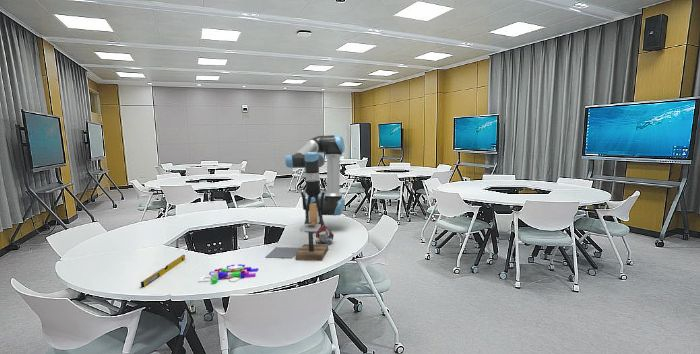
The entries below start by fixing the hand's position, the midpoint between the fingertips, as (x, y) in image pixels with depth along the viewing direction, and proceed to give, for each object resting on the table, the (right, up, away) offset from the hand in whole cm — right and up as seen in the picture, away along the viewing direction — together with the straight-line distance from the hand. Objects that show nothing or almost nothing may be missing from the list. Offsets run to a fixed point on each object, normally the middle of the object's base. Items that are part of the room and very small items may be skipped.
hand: (314, 221), depth 188 cm
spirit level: (-70, -22, -23) cm, 77 cm away
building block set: (-37, -22, -27) cm, 51 cm away
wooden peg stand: (0, -17, -4) cm, 18 cm away
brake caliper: (+5, -15, +16) cm, 22 cm away
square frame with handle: (-1, -2, -5) cm, 6 cm away
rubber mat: (-17, -17, 0) cm, 24 cm away
